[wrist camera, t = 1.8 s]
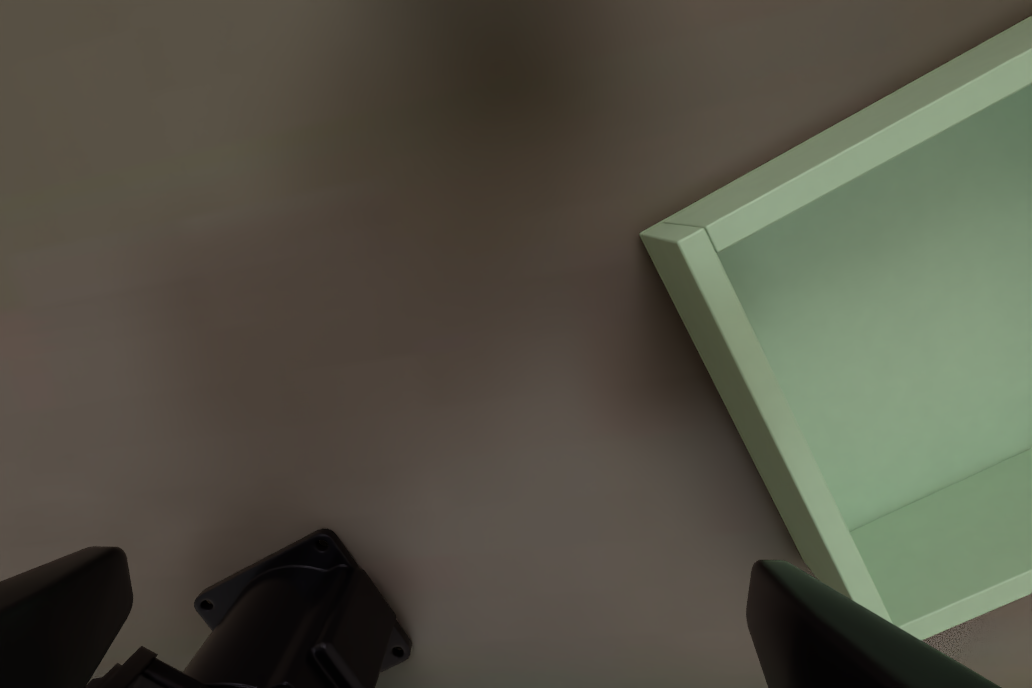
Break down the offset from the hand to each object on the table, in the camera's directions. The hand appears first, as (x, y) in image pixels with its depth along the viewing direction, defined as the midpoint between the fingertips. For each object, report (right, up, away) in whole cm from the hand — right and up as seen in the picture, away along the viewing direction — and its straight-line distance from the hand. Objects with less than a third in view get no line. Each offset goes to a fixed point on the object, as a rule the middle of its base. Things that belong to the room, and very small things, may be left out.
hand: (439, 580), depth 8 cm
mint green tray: (+15, +4, +12) cm, 20 cm away
